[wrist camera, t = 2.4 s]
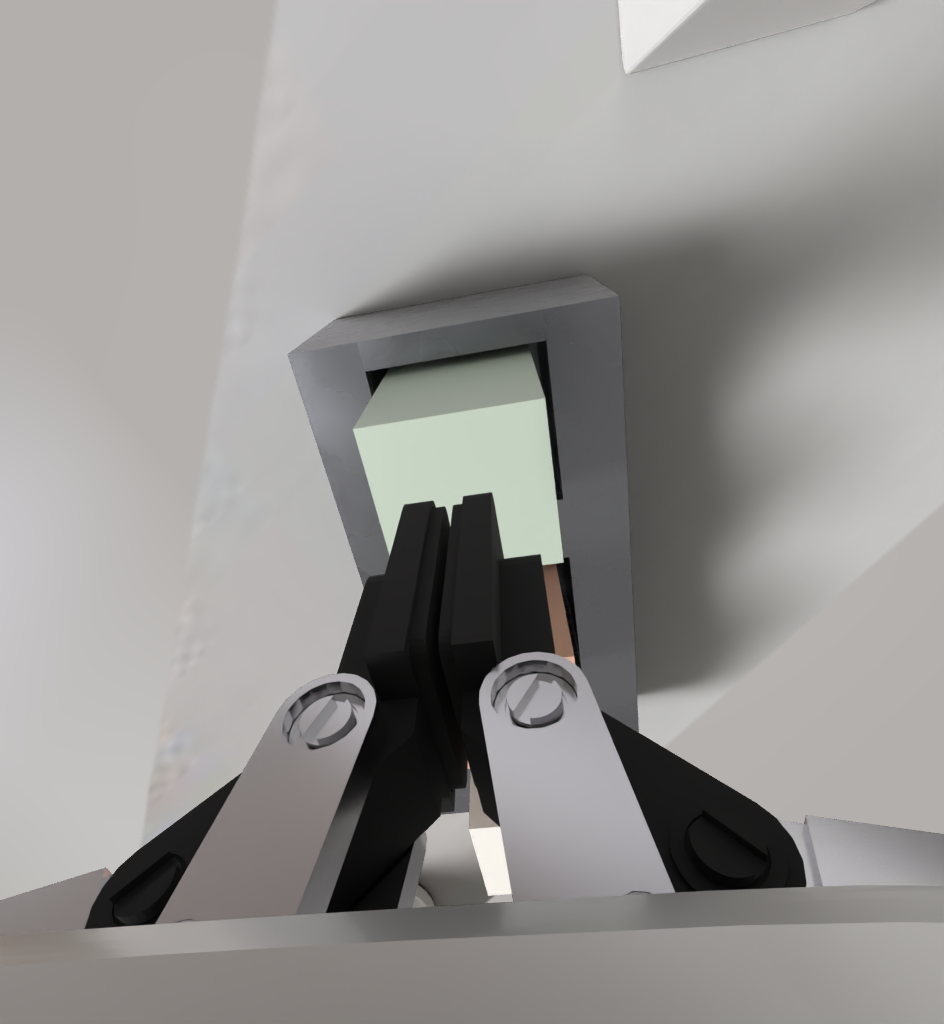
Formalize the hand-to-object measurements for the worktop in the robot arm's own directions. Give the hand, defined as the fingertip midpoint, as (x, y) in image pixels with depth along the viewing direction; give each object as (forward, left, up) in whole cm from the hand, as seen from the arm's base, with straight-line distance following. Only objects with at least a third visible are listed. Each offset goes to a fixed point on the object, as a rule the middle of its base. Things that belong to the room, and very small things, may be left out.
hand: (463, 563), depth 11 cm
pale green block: (0, 0, -10) cm, 10 cm away
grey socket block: (-8, 0, -14) cm, 16 cm away
